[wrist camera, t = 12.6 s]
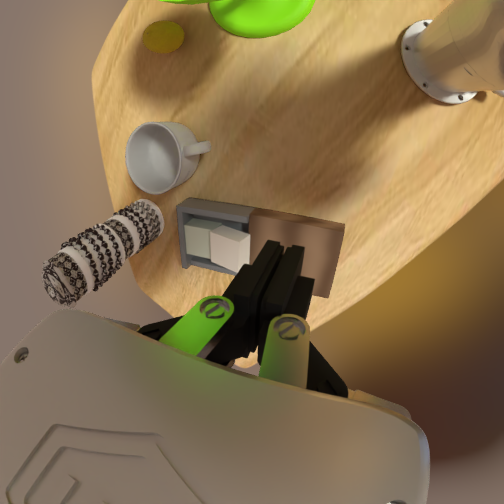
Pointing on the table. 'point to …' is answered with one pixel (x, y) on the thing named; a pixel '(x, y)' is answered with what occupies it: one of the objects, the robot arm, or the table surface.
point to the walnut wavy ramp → (300, 242)
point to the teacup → (162, 155)
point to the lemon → (163, 37)
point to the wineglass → (256, 15)
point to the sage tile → (199, 237)
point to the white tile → (229, 247)
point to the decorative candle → (100, 252)
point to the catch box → (214, 212)
